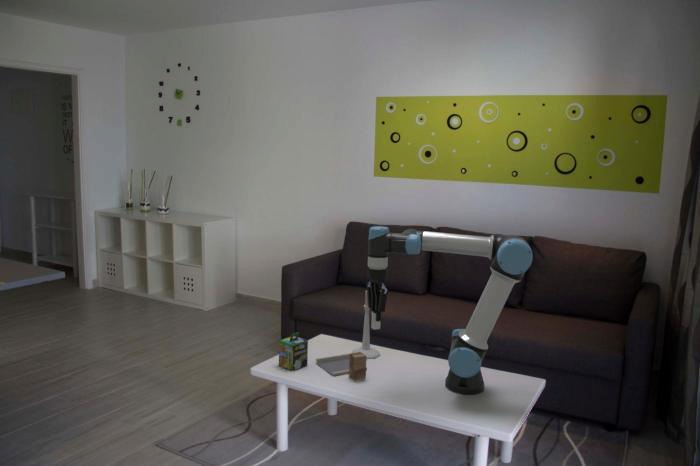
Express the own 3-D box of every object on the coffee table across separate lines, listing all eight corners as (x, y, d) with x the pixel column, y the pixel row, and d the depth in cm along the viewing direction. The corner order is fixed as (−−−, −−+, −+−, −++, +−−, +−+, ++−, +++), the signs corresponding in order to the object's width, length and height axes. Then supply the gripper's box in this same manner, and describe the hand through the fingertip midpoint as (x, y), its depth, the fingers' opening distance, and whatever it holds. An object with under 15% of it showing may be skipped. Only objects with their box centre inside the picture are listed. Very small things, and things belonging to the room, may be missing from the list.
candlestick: (356, 348, 271) (357, 286, 267) (382, 351, 268) (384, 288, 264) (348, 357, 259) (350, 291, 255) (376, 360, 255) (378, 294, 252)
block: (365, 379, 233) (366, 355, 232) (354, 381, 230) (355, 357, 229) (359, 375, 237) (360, 351, 236) (348, 377, 235) (349, 353, 234)
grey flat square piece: (366, 370, 243) (366, 364, 243) (333, 376, 235) (333, 370, 235) (348, 358, 257) (348, 353, 256) (316, 363, 249) (316, 358, 249)
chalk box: (293, 360, 252) (293, 328, 251) (308, 365, 247) (308, 332, 245) (277, 366, 245) (278, 332, 244) (292, 371, 240) (293, 337, 238)
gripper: (396, 270, 212) (393, 332, 215) (376, 263, 224) (374, 322, 227) (378, 271, 209) (376, 334, 212) (360, 265, 221) (358, 325, 224)
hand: (375, 328), depth 219 cm, fingers closed
